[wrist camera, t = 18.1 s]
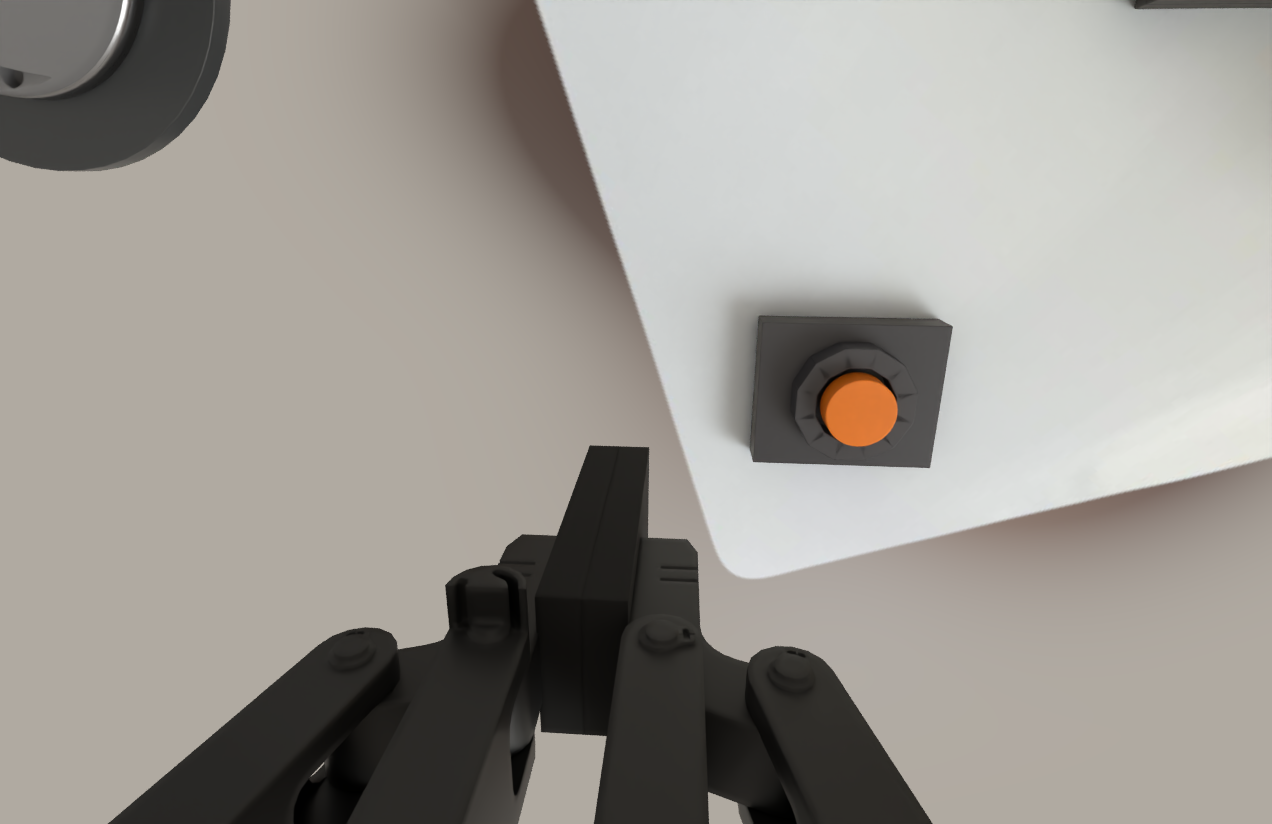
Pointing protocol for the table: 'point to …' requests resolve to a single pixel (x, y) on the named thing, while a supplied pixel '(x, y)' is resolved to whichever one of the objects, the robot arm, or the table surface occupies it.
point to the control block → (828, 348)
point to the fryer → (1202, 4)
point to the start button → (858, 409)
